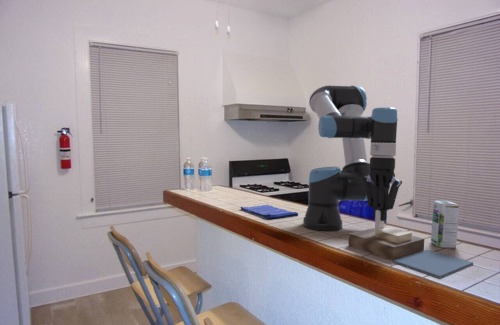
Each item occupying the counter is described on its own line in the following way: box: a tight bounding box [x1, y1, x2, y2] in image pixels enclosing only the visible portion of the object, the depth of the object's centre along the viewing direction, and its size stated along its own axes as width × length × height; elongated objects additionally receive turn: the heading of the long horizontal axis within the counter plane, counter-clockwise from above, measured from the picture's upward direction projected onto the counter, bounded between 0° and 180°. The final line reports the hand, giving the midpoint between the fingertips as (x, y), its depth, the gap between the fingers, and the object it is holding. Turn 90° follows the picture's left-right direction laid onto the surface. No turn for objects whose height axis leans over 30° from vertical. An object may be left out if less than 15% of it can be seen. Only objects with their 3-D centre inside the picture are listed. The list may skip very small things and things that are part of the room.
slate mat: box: [392, 249, 474, 279], centre depth 95 cm, size 13×18×1 cm
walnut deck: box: [348, 227, 425, 262], centre depth 108 cm, size 16×16×4 cm
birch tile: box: [375, 226, 413, 243], centre depth 105 cm, size 8×7×2 cm
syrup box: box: [430, 200, 460, 249], centre depth 112 cm, size 6×6×14 cm
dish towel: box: [240, 204, 299, 220], centre depth 157 cm, size 17×24×3 cm
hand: (379, 230), depth 109 cm, fingers closed
